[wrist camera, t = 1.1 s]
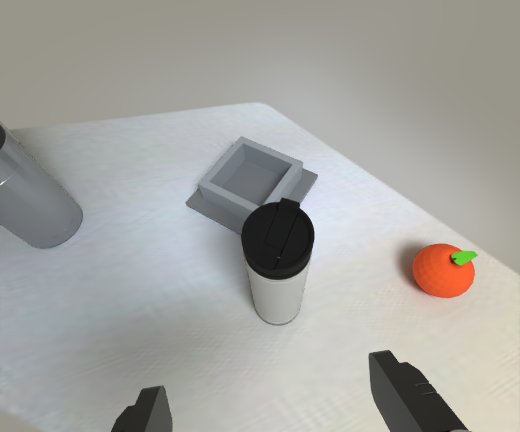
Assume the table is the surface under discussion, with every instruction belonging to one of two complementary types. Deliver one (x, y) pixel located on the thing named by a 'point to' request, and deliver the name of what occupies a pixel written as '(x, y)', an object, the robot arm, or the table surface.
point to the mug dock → (249, 183)
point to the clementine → (444, 270)
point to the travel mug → (277, 258)
